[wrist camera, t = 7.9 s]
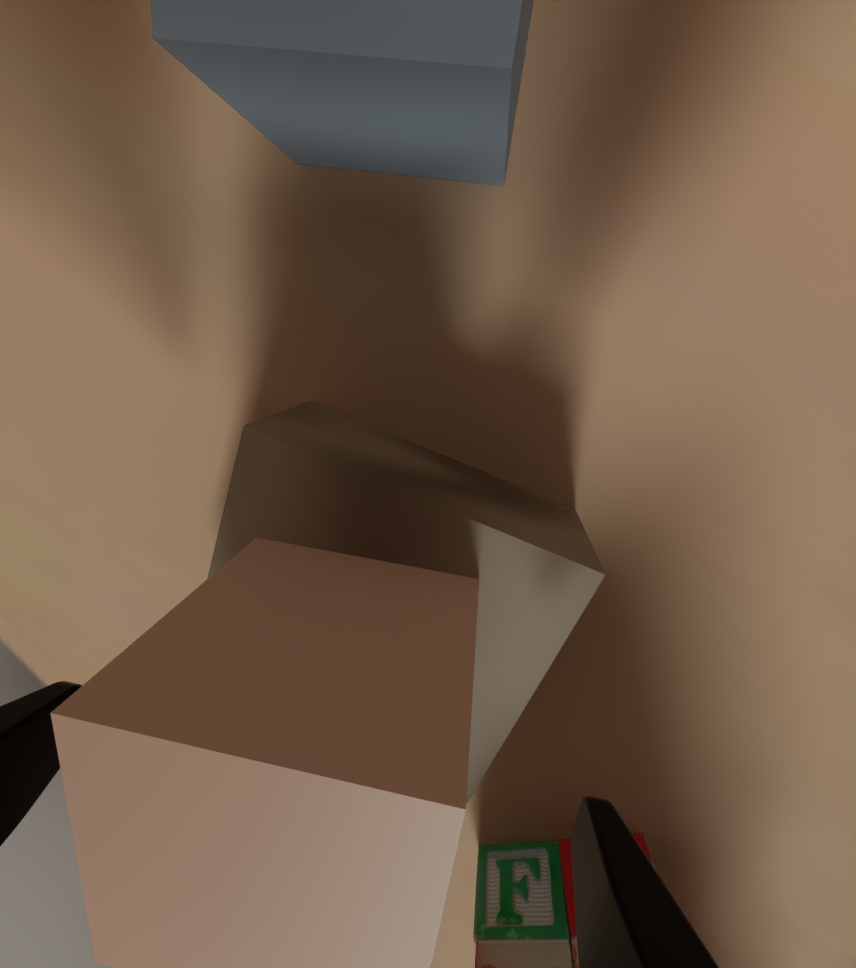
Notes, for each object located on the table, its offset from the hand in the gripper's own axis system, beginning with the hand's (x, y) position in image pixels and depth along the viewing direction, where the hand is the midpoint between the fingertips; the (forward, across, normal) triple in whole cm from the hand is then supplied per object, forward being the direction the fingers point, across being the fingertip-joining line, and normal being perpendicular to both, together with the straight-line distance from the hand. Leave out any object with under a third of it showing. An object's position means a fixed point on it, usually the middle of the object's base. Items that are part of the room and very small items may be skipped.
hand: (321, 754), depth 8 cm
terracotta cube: (+3, 0, 0) cm, 3 cm away
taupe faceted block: (+7, 0, 0) cm, 7 cm away
